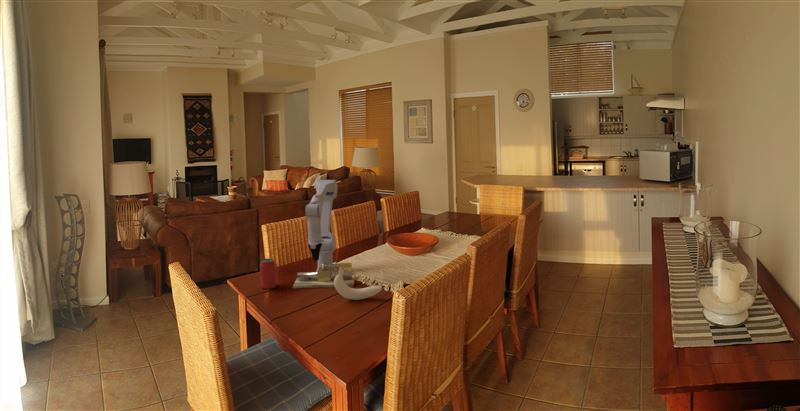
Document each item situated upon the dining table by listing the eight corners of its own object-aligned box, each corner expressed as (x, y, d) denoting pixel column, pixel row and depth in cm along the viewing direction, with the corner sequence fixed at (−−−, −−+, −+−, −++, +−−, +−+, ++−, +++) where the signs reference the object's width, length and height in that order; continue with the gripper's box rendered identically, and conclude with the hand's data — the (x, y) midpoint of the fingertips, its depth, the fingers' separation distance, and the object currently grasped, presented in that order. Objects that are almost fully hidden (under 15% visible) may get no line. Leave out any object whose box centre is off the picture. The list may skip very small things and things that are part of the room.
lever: (321, 268, 211) (321, 264, 211) (322, 266, 213) (322, 263, 213) (351, 267, 211) (351, 264, 211) (351, 266, 213) (351, 262, 213)
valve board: (298, 277, 220) (298, 275, 220) (355, 276, 221) (355, 273, 221) (293, 288, 206) (292, 285, 206) (353, 286, 207) (353, 284, 207)
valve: (299, 278, 215) (298, 266, 214) (352, 277, 216) (351, 264, 215) (297, 282, 210) (296, 269, 209) (351, 280, 211) (351, 268, 210)
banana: (382, 300, 192) (381, 265, 189) (335, 303, 188) (333, 268, 186) (381, 295, 196) (380, 261, 194) (334, 299, 193) (333, 264, 190)
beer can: (278, 284, 212) (277, 258, 209) (273, 289, 205) (271, 262, 203) (264, 283, 212) (262, 257, 210) (258, 289, 206) (256, 262, 204)
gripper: (321, 234, 205) (323, 264, 208) (325, 226, 219) (326, 255, 222) (305, 234, 205) (306, 265, 207) (310, 227, 219) (311, 255, 222)
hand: (316, 260), depth 215 cm, fingers closed
